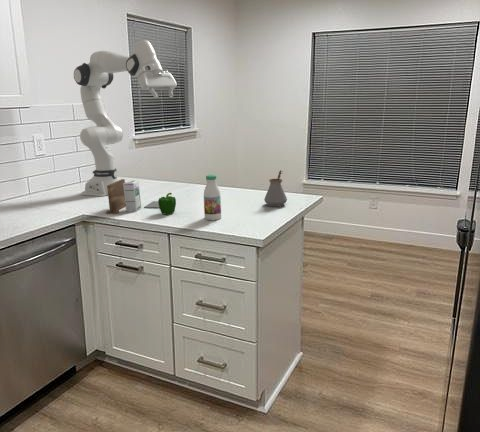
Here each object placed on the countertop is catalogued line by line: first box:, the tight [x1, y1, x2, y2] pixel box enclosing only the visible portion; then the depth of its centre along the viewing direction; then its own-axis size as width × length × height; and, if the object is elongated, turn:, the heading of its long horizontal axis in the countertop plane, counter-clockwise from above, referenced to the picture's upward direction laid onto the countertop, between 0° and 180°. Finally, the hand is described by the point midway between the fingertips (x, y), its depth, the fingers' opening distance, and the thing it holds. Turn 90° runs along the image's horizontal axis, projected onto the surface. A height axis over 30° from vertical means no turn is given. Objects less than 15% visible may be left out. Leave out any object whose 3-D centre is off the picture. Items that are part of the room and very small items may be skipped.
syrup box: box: [123, 180, 142, 212], centre depth 226 cm, size 6×6×14 cm
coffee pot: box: [263, 170, 288, 208], centre depth 232 cm, size 21×12×15 cm, turn 165°
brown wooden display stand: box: [105, 178, 126, 215], centre depth 227 cm, size 6×16×14 cm, turn 169°
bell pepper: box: [157, 192, 177, 216], centre depth 217 cm, size 8×8×10 cm
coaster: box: [144, 200, 160, 209], centre depth 235 cm, size 12×12×1 cm
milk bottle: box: [203, 174, 222, 221], centre depth 206 cm, size 8×8×20 cm
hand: (164, 96), depth 218 cm, fingers open, 8 cm apart
